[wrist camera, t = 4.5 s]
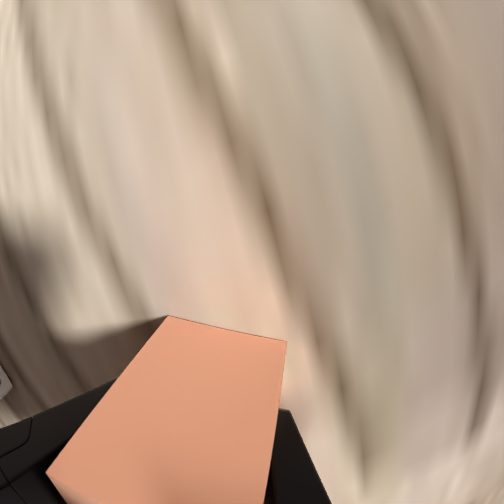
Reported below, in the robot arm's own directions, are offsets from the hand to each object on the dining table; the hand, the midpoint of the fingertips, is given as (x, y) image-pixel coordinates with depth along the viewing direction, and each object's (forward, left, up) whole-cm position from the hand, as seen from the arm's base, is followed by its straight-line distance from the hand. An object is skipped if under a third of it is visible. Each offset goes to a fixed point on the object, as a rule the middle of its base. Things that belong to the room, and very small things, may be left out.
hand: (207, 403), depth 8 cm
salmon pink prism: (-5, 0, -2) cm, 5 cm away
